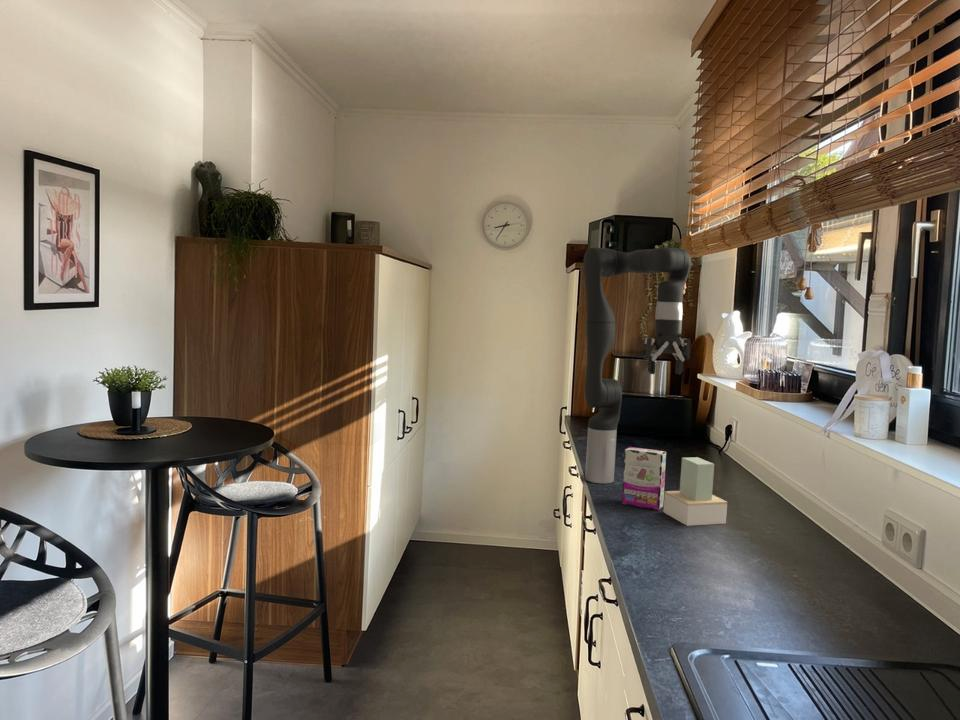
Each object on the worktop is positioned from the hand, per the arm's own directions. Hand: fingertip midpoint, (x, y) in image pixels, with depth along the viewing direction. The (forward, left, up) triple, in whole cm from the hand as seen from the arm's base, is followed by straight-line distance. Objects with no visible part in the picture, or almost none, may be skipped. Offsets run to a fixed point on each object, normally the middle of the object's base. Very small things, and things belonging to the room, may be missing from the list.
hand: (665, 374), depth 213 cm
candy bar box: (+2, -6, -38) cm, 39 cm away
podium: (+15, +3, -38) cm, 41 cm away
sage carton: (+15, +3, -32) cm, 36 cm away
